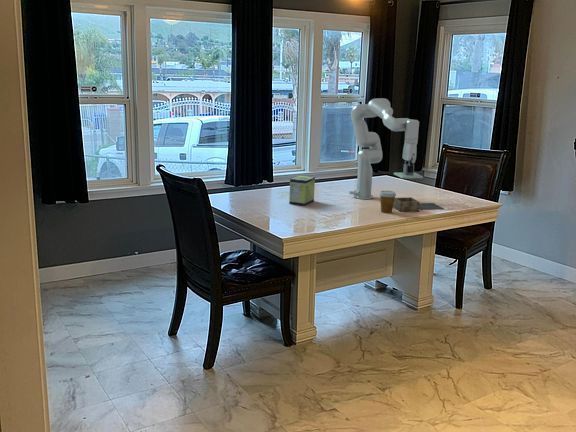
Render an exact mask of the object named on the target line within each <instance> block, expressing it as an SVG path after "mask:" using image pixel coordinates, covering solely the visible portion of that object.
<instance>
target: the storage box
mask: <svg viewBox="0 0 576 432" xmlns="http://www.w3.org/2000/svg"><path fill="white" fill-rule="evenodd" d="M419 203H421V202H420V201H419V200H417V199H415V198H414V197H411V196H409V197H408V196H407V197H406V196H405V197H395V199H394V204H393V209H394V210H395V211H397V210H398V211H397V212H399V213H412V212H413V213H417V212H420V209H419Z"/></svg>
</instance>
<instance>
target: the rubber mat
mask: <svg viewBox="0 0 576 432" xmlns="http://www.w3.org/2000/svg"><path fill="white" fill-rule="evenodd" d="M419 210H420V211H421V210H422V211H424V210H445V208H444V207H442V206H441V205H438V204H436V203H435V202H420V203H419Z"/></svg>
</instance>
